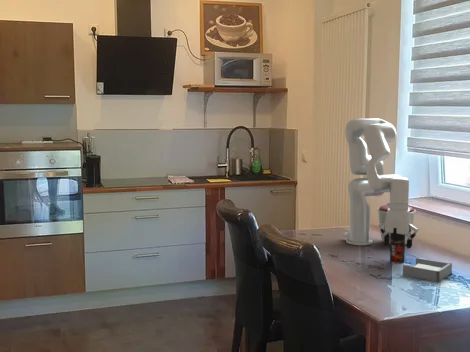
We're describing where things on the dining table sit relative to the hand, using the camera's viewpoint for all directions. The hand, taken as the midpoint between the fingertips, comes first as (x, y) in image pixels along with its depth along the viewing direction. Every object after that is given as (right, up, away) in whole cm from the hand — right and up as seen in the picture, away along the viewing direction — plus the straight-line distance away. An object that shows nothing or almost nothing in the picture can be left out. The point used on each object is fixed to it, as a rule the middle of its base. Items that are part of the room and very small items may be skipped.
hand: (397, 246), depth 229 cm
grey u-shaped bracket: (+6, -9, -17) cm, 20 cm away
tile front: (+9, -9, -19) cm, 23 cm away
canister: (+9, -3, +33) cm, 34 cm away
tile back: (+5, -9, -15) cm, 18 cm away
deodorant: (0, -7, +1) cm, 7 cm away
